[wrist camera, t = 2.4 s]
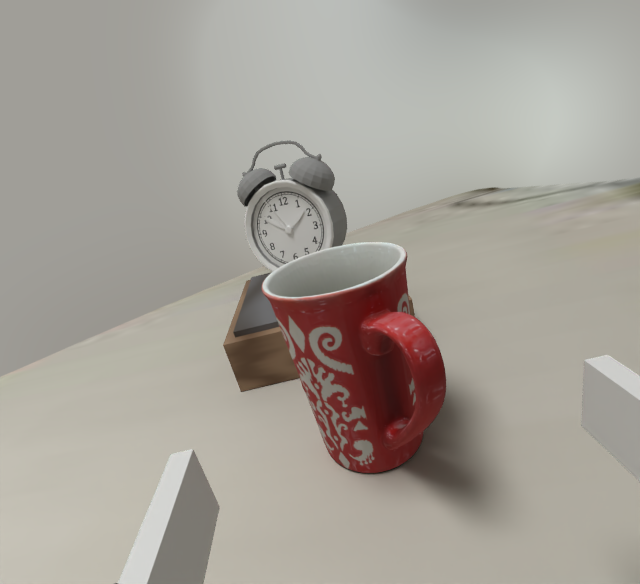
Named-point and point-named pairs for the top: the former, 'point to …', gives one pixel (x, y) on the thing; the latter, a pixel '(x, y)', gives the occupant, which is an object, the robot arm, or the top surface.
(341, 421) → the mug
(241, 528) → the top surface
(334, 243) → the alarm clock
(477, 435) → the top surface
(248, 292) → the walnut stand
